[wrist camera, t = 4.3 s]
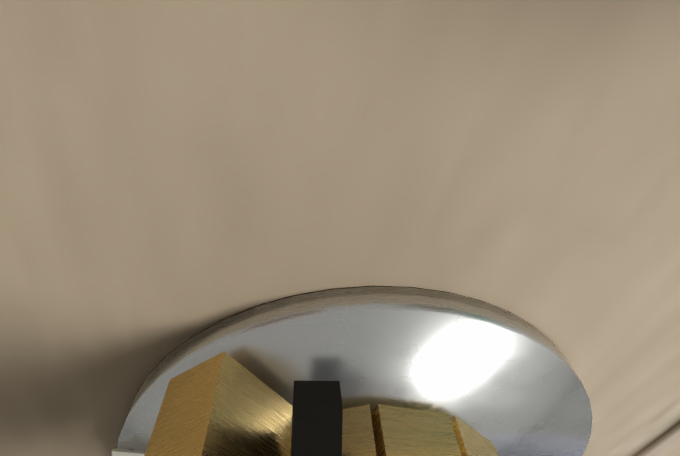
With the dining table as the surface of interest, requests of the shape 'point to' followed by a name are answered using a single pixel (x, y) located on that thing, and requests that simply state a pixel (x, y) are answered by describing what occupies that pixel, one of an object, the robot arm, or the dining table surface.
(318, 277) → the dining table surface
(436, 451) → the ring nut
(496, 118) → the dining table surface
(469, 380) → the flange
